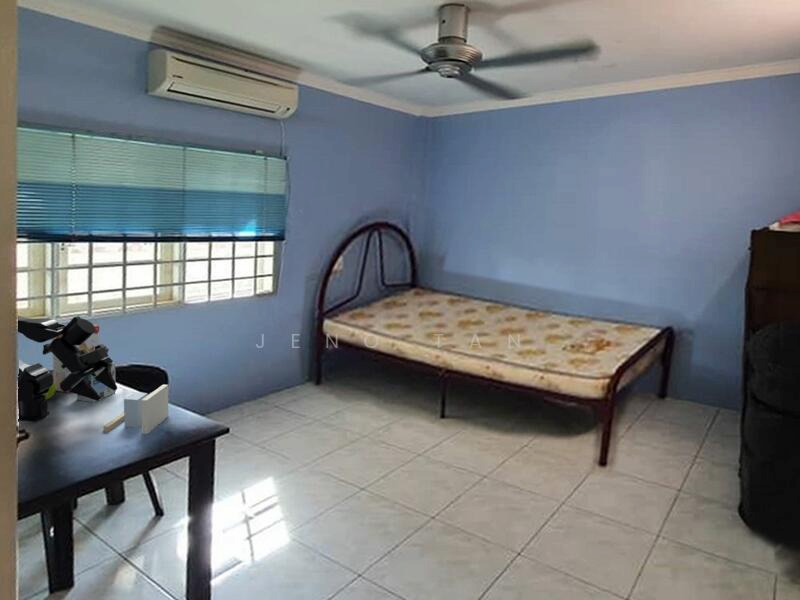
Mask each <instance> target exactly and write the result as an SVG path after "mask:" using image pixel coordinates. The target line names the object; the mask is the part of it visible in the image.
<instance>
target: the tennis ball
mask: <svg viewBox="0 0 800 600" xmlns="http://www.w3.org/2000/svg"><path fill="white" fill-rule="evenodd" d="M55 393H56V390H55V384H54V382H53V385H52V386H51V387H50V389H49V392H48V393H45V394H43V395H45V399H46V400H48V399H50V398H52V397H53V396H54V395H55Z"/></svg>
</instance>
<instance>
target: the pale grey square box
mask: <svg viewBox="0 0 800 600" xmlns="http://www.w3.org/2000/svg"><path fill="white" fill-rule="evenodd" d="M148 395H149V394H148V392H137V391H134V392H132V393H131V394H129V395H127V397H125V398H124V399H123V412H124V421H123V422H124V428H132V427H134V429H135V428H136V429H138V428H140V427H142V408H141V400H142V399H144V398H145V397H146V396H148Z"/></svg>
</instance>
